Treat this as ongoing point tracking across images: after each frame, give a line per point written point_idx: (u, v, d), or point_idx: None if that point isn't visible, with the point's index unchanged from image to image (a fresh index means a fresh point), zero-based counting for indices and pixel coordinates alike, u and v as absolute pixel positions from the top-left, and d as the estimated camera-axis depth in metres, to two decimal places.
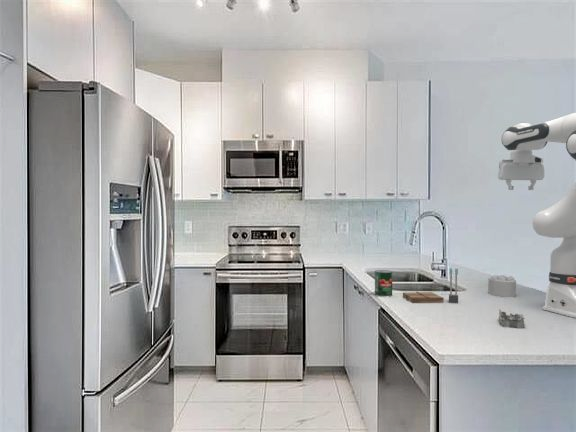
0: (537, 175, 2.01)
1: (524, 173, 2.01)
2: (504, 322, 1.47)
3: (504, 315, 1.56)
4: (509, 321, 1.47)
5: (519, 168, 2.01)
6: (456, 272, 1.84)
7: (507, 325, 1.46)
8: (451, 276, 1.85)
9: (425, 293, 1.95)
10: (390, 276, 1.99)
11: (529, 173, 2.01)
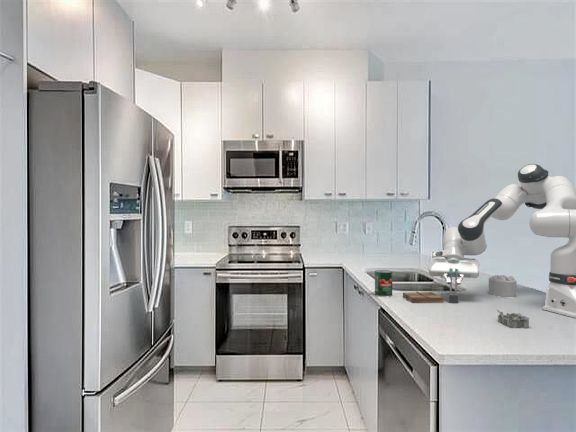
0: None
1: None
2: (512, 323, 1.46)
3: None
4: (516, 322, 1.46)
5: None
6: (456, 271, 1.85)
7: (515, 326, 1.46)
8: (451, 275, 1.86)
9: (425, 293, 1.95)
10: (390, 276, 1.99)
11: None
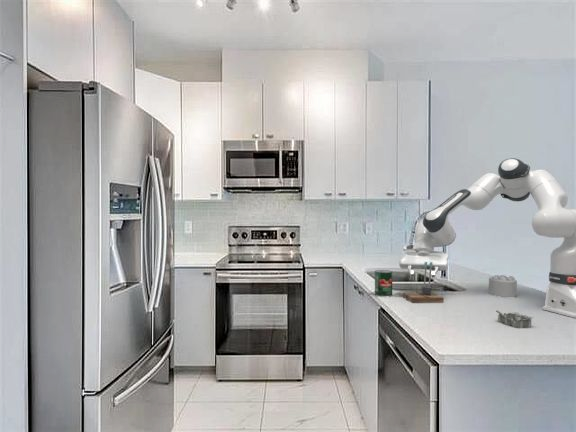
0: None
1: None
2: (517, 323, 1.46)
3: None
4: None
5: None
6: (431, 265, 1.91)
7: (521, 326, 1.45)
8: None
9: None
10: (390, 276, 1.99)
11: None
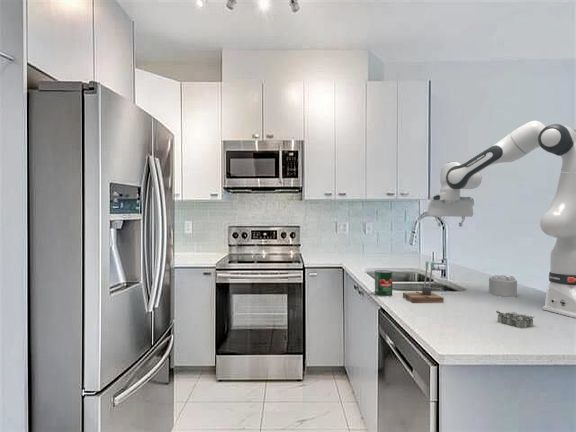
0: None
1: None
2: (522, 324, 1.46)
3: None
4: None
5: None
6: (432, 265, 1.90)
7: (525, 326, 1.46)
8: None
9: None
10: (390, 276, 1.99)
11: None
